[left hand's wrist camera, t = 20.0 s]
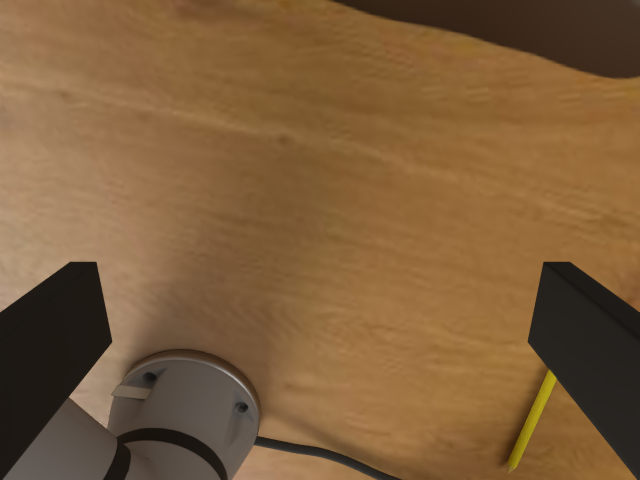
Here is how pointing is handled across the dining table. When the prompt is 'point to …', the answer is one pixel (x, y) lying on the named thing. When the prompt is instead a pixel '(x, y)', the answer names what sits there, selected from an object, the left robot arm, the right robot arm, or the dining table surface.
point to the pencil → (531, 420)
